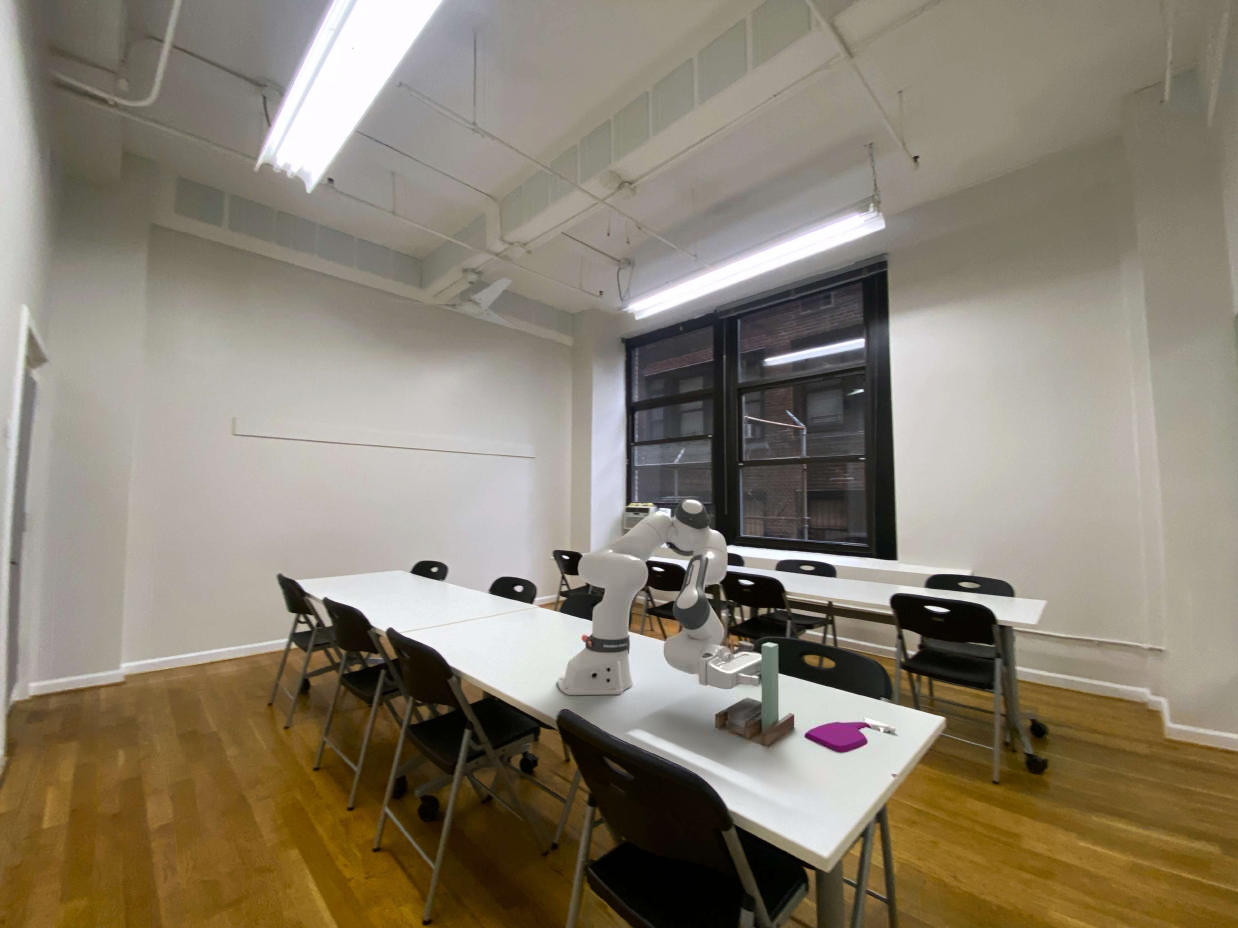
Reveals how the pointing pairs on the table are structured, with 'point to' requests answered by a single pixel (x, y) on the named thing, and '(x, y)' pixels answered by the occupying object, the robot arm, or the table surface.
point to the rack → (758, 728)
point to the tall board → (769, 685)
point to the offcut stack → (742, 714)
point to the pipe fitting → (745, 649)
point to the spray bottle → (844, 734)
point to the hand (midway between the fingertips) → (768, 676)
